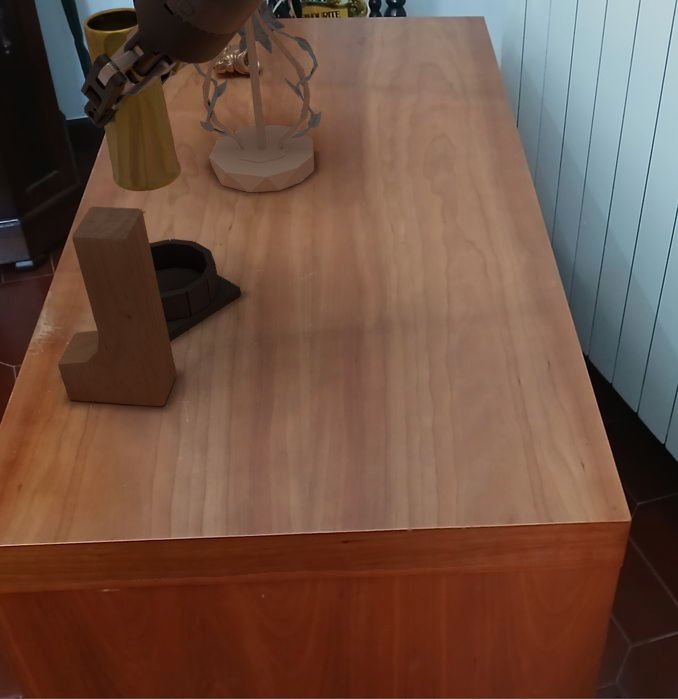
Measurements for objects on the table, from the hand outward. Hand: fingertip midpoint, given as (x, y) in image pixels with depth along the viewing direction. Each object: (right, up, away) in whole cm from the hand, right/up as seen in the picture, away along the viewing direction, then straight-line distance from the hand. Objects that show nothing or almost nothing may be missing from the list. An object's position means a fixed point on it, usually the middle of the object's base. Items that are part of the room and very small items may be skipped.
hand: (118, 103), depth 80 cm
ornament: (+4, +19, +53) cm, 57 cm away
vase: (+2, -6, +4) cm, 7 cm away
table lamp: (+10, +1, +33) cm, 34 cm away
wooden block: (0, -25, +4) cm, 25 cm away
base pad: (+2, -16, +13) cm, 21 cm away
